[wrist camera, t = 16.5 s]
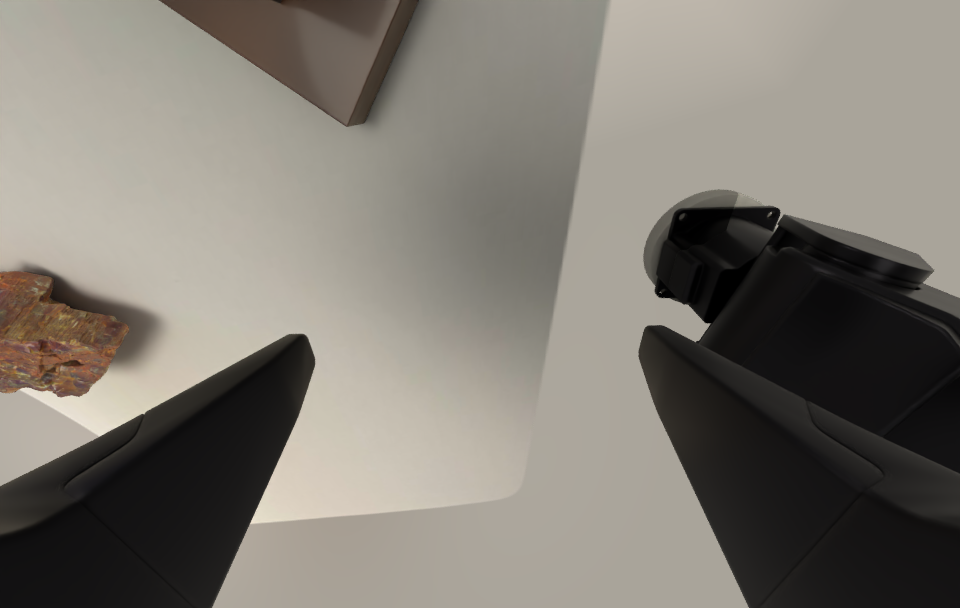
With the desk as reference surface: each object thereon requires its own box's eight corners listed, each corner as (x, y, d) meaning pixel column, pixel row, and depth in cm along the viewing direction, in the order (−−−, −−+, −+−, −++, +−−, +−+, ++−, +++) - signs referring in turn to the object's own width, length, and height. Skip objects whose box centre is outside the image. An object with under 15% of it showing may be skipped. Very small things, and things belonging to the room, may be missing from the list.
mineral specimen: (3, 224, 20) (-60, 325, 17) (159, 281, 27) (137, 364, 23) (-88, 311, 24) (-157, 410, 20) (71, 343, 30) (39, 424, 26)
